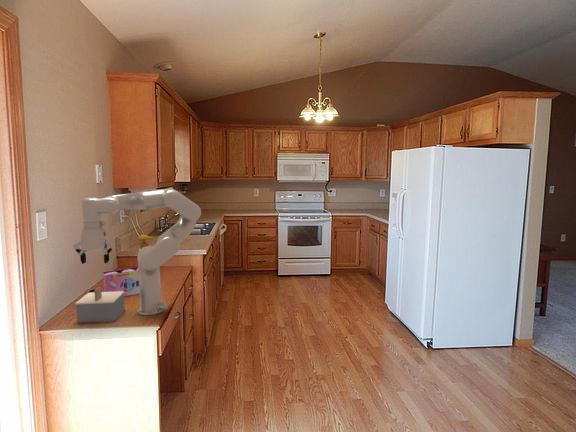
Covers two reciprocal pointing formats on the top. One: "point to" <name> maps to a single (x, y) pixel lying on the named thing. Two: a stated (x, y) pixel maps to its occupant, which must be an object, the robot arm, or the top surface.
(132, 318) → the top surface
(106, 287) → the gum box
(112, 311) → the carton
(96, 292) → the carton flap
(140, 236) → the soap bottle
